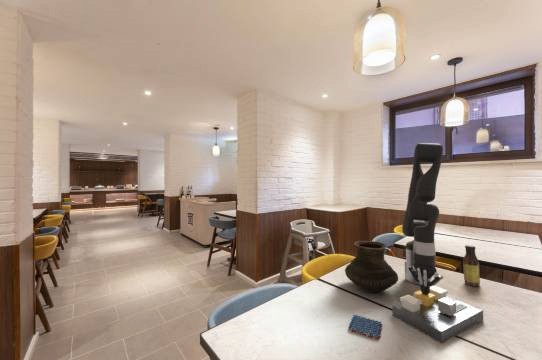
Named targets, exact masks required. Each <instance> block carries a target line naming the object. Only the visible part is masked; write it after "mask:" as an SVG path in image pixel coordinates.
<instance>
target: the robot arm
mask: <svg viewBox="0 0 542 360" xmlns="http://www.w3.org/2000/svg"><path fill="white" fill-rule="evenodd" d="M443 155H444V146H443V145H442V144H441V143H430V142H429V143H428V142H418V143H416V145H415V147H414V152H413V161H412V163H413V164H412V170H411V171H412V172H411V179H410V183H409V188H408V195H407V202H406V203H407V204H406V209H405V213H404V216H403V220H402V227H401V229H402V234H403V235H404V236H406V237H410V238H413V240H411V241H407V242H406V244H405V253H406V254H405V256H406V257H405V259H406V260H405V261H404V279H405V280H407V282H409V283H412V284H414V285H420V290H421V292H422V294H424V295H428V294H429V293H430V287H431V286H437V284H438V283H439V282H440V281H441V280H443V279H444V276H442V275H440V274H439V273H438V272H437V268H436V263H437V262H436V260H437V259H436V245H435V230H436V225H437V221H438V220H439V218H440V217H439V216H440V210H439V209H440V208H439V207H438V206H437V205H435V204H432V203H431V202H433V201H434V200H435V199H436V191H437V182H438V177H439V174H440V170H441V166H442V165H441V164H442V160H443ZM421 163H423V164H432V165H431V166H430V167H429V169H427V171H426V172H425V173H424V172H423V169H422V165H421ZM426 222H427V223H426Z"/></svg>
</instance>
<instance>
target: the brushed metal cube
mask: <svg viewBox="0 0 542 360" xmlns="http://www.w3.org/2000/svg"><path fill="white" fill-rule="evenodd" d="M438 311H441V312H443V313H445V314H447V315H449V316H451V315H454V314H456V302H454V301H451V300H449V299H446V298H442V299H440V300H438Z"/></svg>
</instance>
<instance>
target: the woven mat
mask: <svg viewBox="0 0 542 360" xmlns="http://www.w3.org/2000/svg"><path fill="white" fill-rule="evenodd" d="M347 330H348V331H349V330H350V331H349V332H350V333H352V332H353V333H354V332H355V333H356V335H360V336H362V337H364V336H365V337H366V338H370V337H372V339H373V341H375V340H376V341H378V340H380V339H381V338H382V336H381V335H382V330H383V323H382V321H380V320H379V321H378V320H376V319H372V318H369V317H368V318H367V317H365V316H362V315H358V314H353V316H352V318H351V321H350V323H349V326H348V329H347ZM351 331H352V332H351ZM361 334H362V335H361Z"/></svg>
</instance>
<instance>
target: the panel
mask: <svg viewBox="0 0 542 360" xmlns="http://www.w3.org/2000/svg"><path fill="white" fill-rule="evenodd" d="M414 297H415V298H416V296H414ZM446 299H449V300H451V301H454V302H456V314H454V315H451V316H449V315H447V314H445V313H443V312H441V311H438V300H436V299H434V304H433V305H431V306H428V307H427V306H424V305H422V304H420V310H419V311H416V312H414V313H413V312H411V311H409V310H407V309H405V308H403V307H402V301H401V302H398V303H397V302H396V303H395V304H393V305H391V309H392V310H391V316H392V317H394V318H396V319H398V320H399V319H400V320H399V321H401V322H403V323H405V324H407V325H408V326H409V327H411V328H414V329H415V330H417V331H419V332H420V333H422V334H423V335H426V336H427V337H429V338H431V339H433V340H434V341H436V342H438V343H440V344H441V343H442V344H444V343H446V342H447V341H449V340H451V339H454V338H455V337H456V336H458V335H460V334H462V333H464V332H466V331H467V330H469V329H471V328H473V327H475V326H476V325H478V324H480V323H482V322H484V310H483V309H481V308H479V307H475V306H473V305H471V304H468V303H466V302H463V301H460V300H458V299H455V298H453V297H450V296H448V295H446Z"/></svg>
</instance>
